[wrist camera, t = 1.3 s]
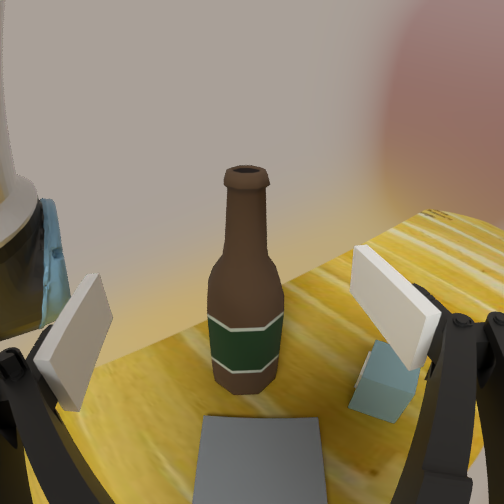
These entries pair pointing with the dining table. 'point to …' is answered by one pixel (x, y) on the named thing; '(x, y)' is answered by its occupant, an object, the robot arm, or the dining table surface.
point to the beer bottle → (245, 290)
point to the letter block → (384, 384)
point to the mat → (260, 461)
